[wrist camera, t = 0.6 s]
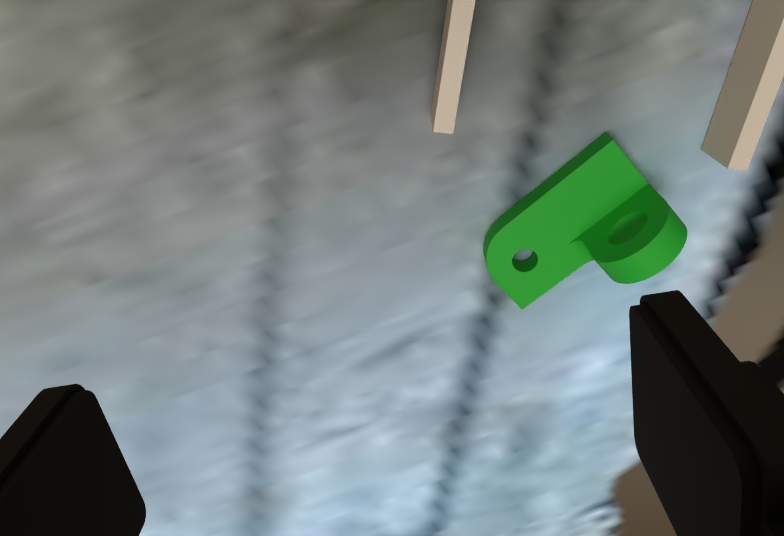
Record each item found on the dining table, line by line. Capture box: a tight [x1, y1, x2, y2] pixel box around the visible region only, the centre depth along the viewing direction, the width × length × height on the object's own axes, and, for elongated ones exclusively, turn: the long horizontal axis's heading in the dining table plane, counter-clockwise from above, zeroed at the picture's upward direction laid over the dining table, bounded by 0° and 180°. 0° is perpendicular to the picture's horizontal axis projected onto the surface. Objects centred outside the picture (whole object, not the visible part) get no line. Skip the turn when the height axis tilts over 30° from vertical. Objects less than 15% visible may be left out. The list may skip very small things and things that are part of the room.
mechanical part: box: [483, 132, 687, 309], centre depth 43 cm, size 12×6×8 cm, turn 133°
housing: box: [431, 0, 784, 171], centre depth 39 cm, size 12×19×4 cm, turn 83°
